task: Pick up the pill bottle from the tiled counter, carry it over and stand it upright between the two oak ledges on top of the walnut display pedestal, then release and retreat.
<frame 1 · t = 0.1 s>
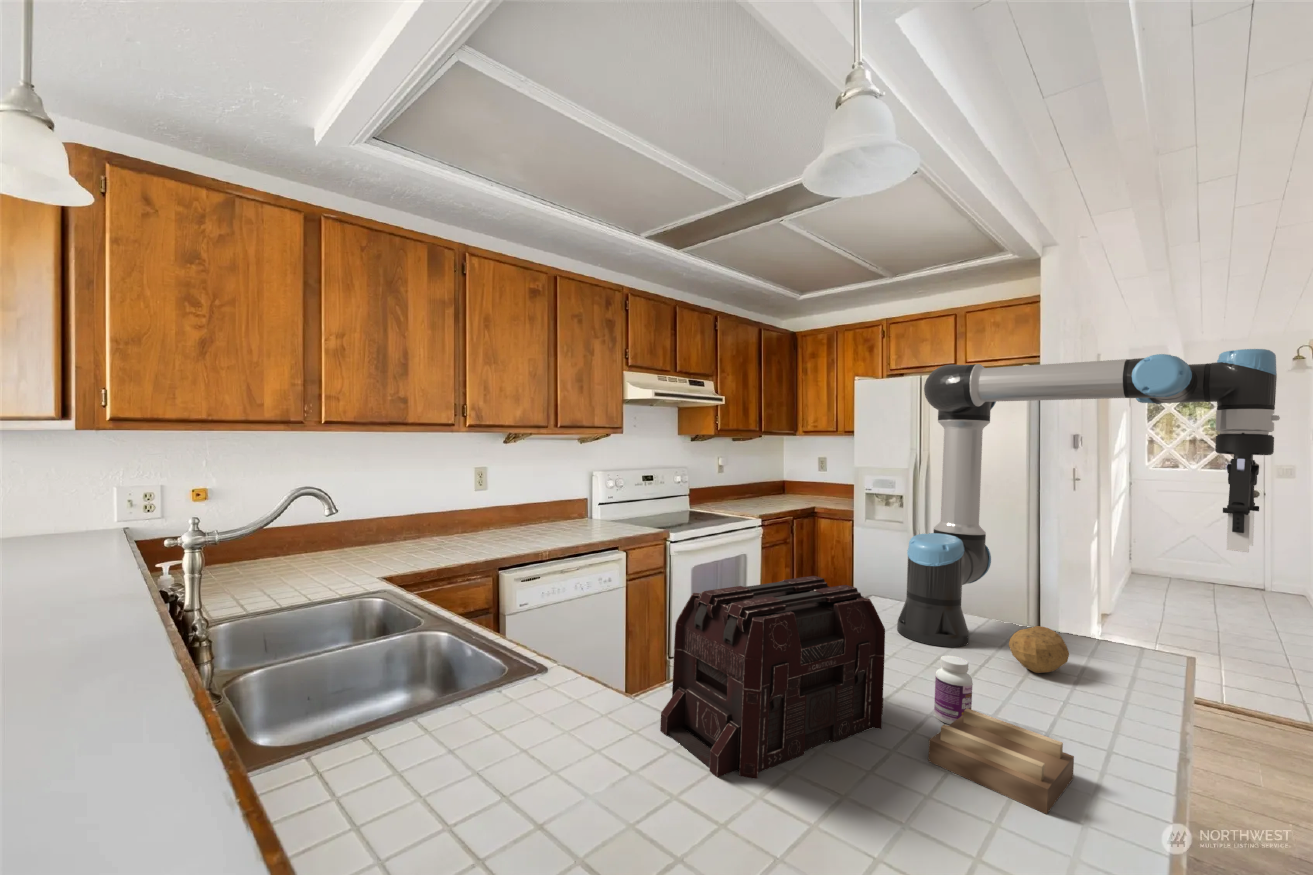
hand: (1240, 547, 104), 28 cm above the counter, fingers open, 13 cm apart
potato: (1036, 671, 114), on the counter
display pedestal: (999, 769, 77), on the counter
crate: (776, 724, 87), on the counter
pill bottle: (952, 720, 91), on the counter
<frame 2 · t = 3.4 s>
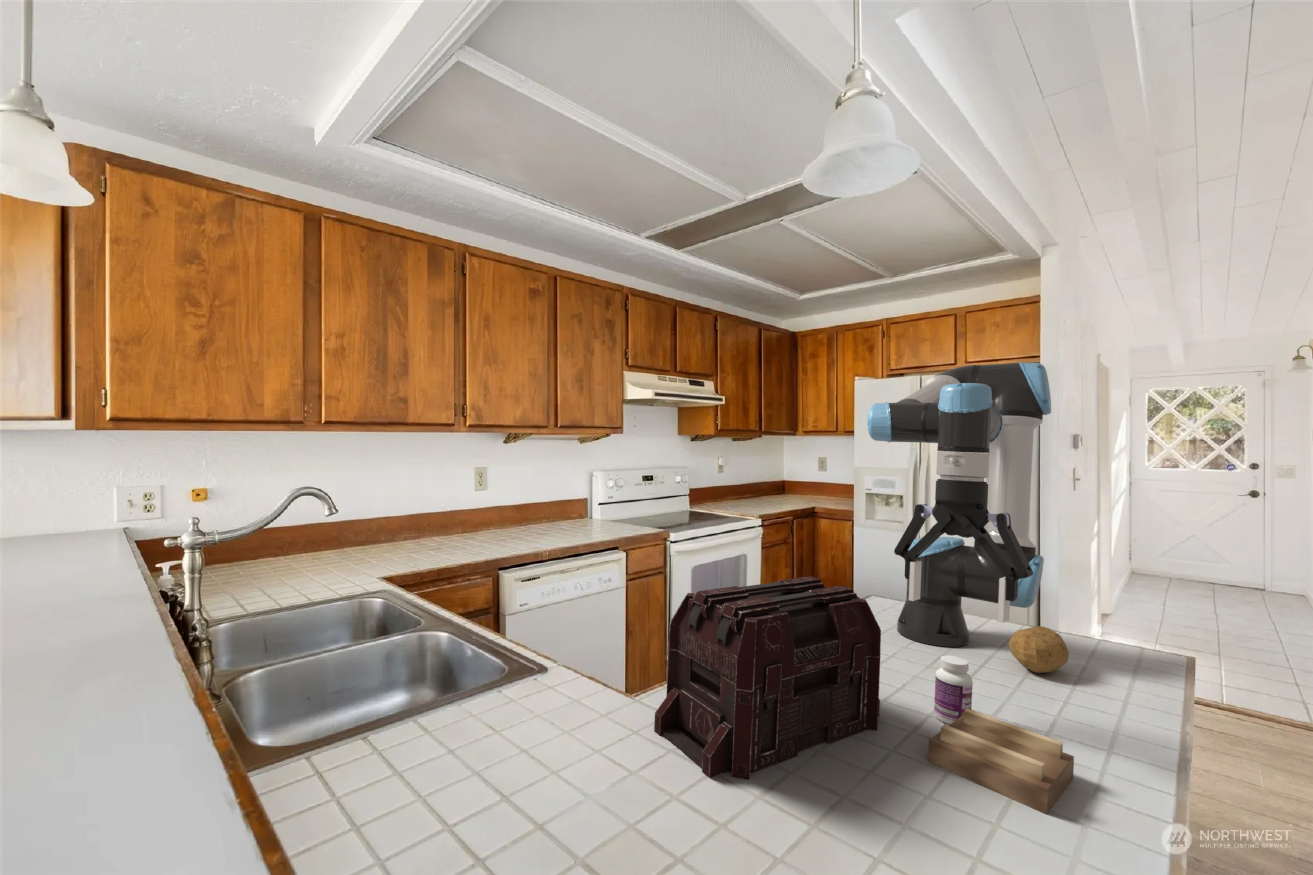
hand: (956, 609, 91), 18 cm above the counter, fingers open, 13 cm apart
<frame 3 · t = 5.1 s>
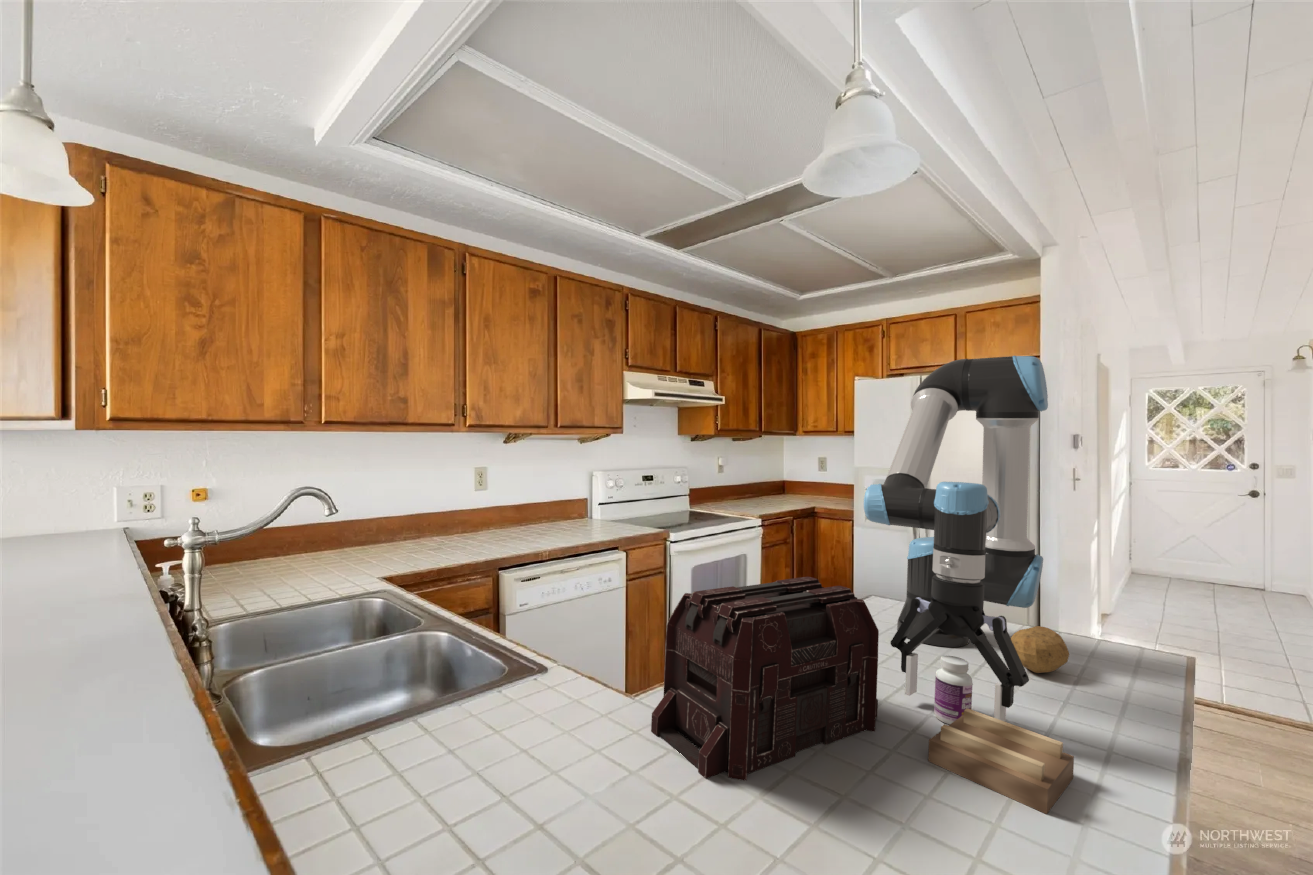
hand: (952, 708, 91), 2 cm above the counter, fingers open, 13 cm apart
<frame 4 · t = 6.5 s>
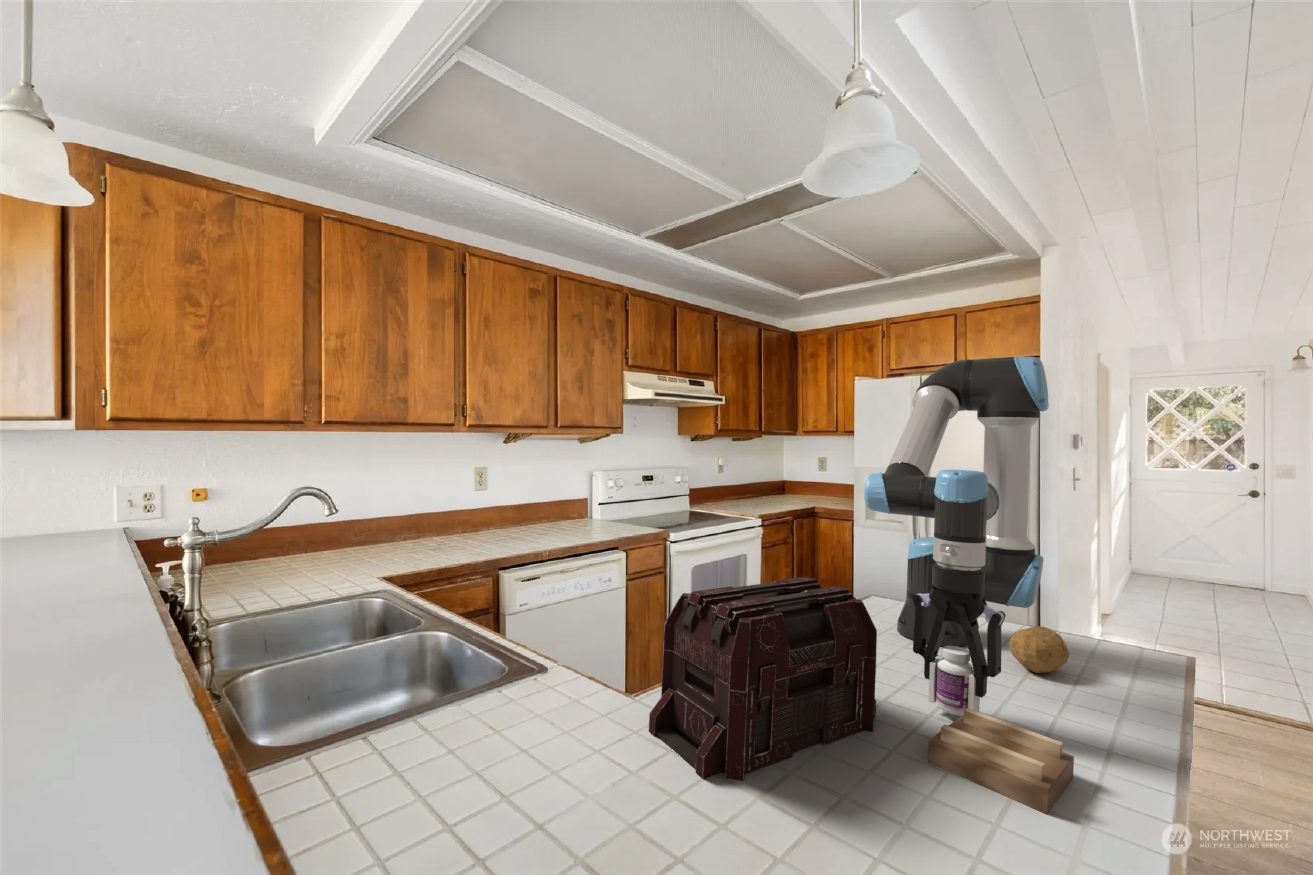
hand: (953, 706, 91), 2 cm above the counter, fingers closed on pill bottle, 5 cm apart
pill bottle: (954, 709, 92), point 1 cm above the counter, touching gripper
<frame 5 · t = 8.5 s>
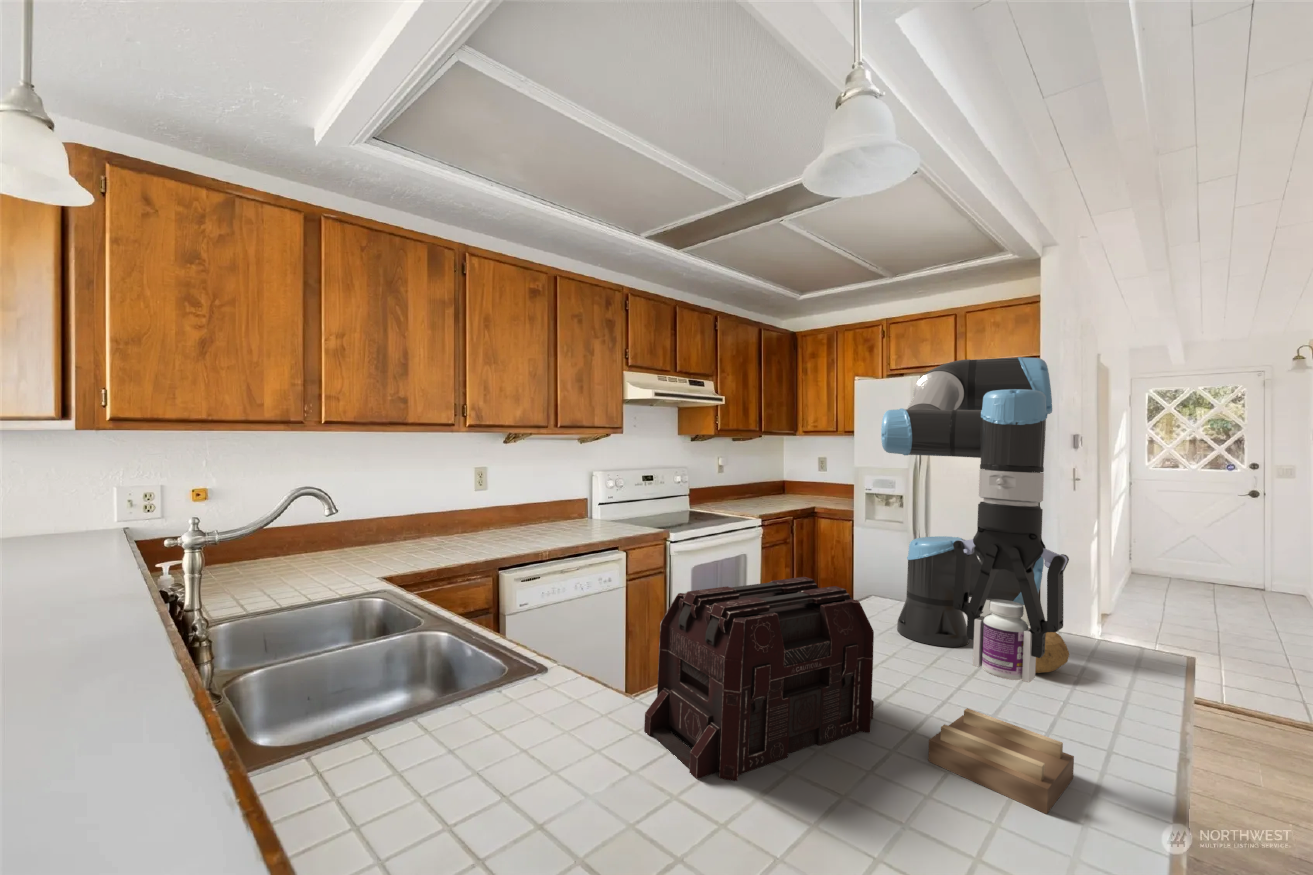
hand: (1003, 671, 77), 13 cm above the counter, fingers closed on pill bottle, 5 cm apart
pill bottle: (1003, 674, 77), point 13 cm above the counter, touching gripper
when the fingers open (4 cm above the counter, at t = 10.8 s): pill bottle stays where it is, resting on display pedestal.
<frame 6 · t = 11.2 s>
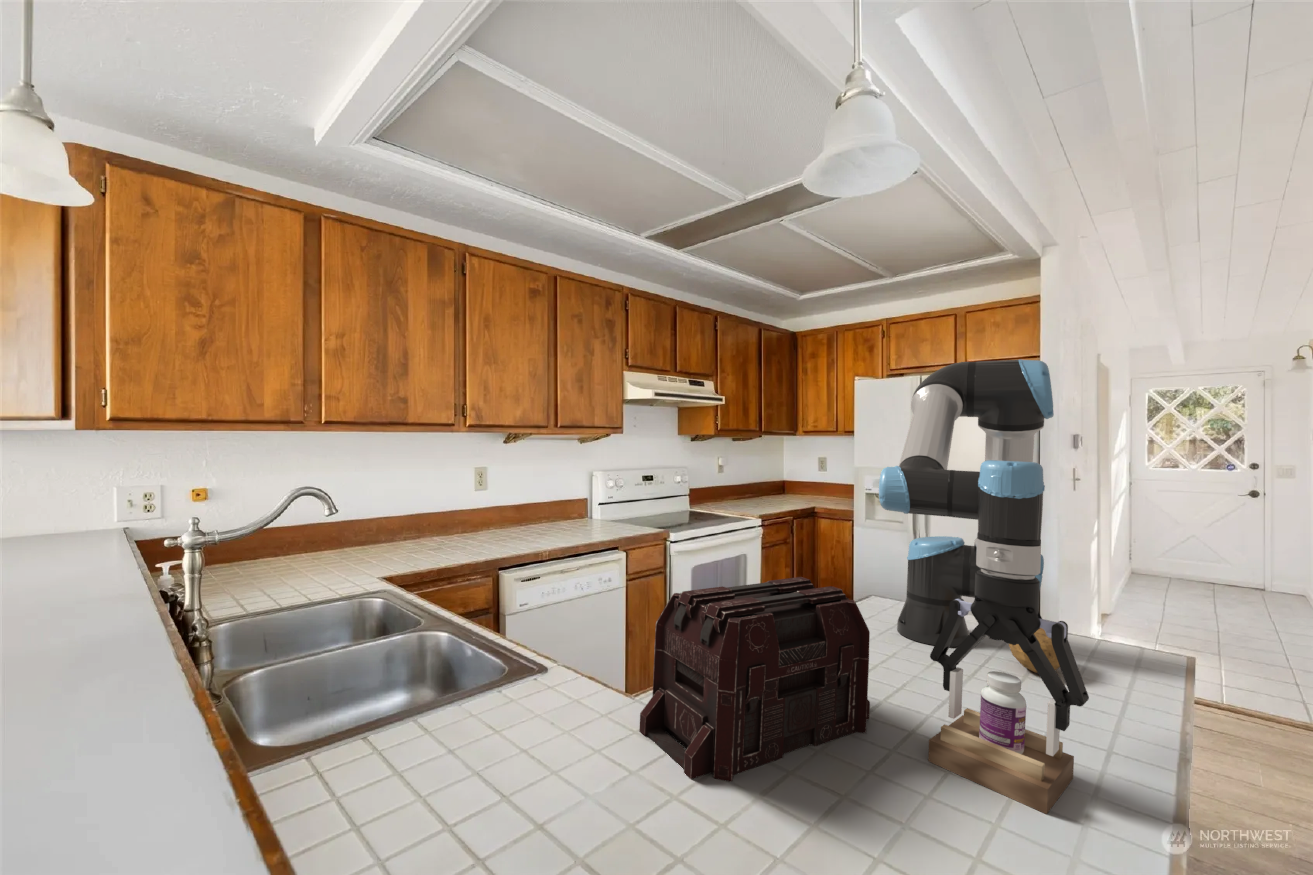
hand: (1000, 732, 77), 5 cm above the counter, fingers open, 11 cm apart
pill bottle: (1001, 748, 77), point 3 cm above the counter, touching display pedestal
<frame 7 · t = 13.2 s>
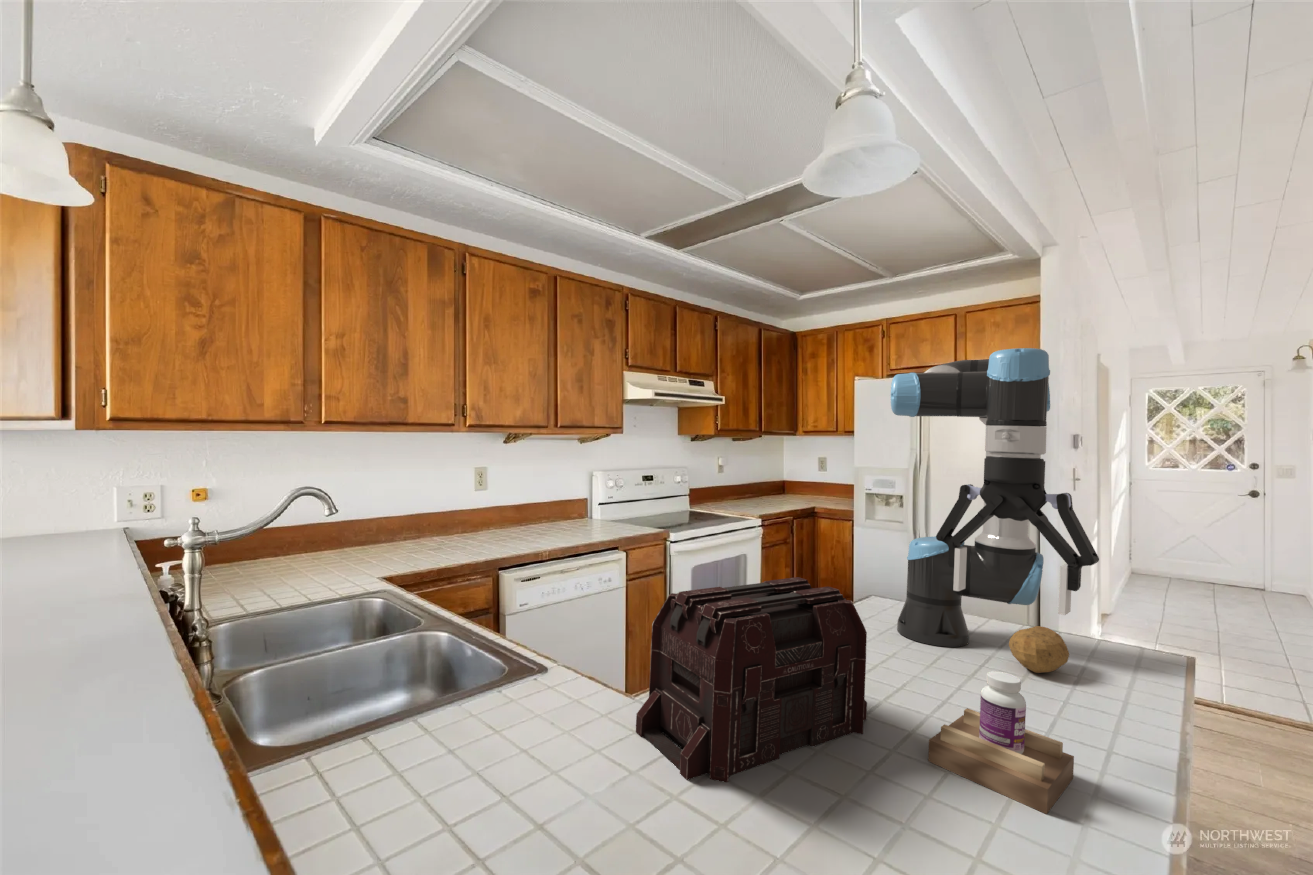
hand: (1008, 600, 82), 22 cm above the counter, fingers open, 13 cm apart
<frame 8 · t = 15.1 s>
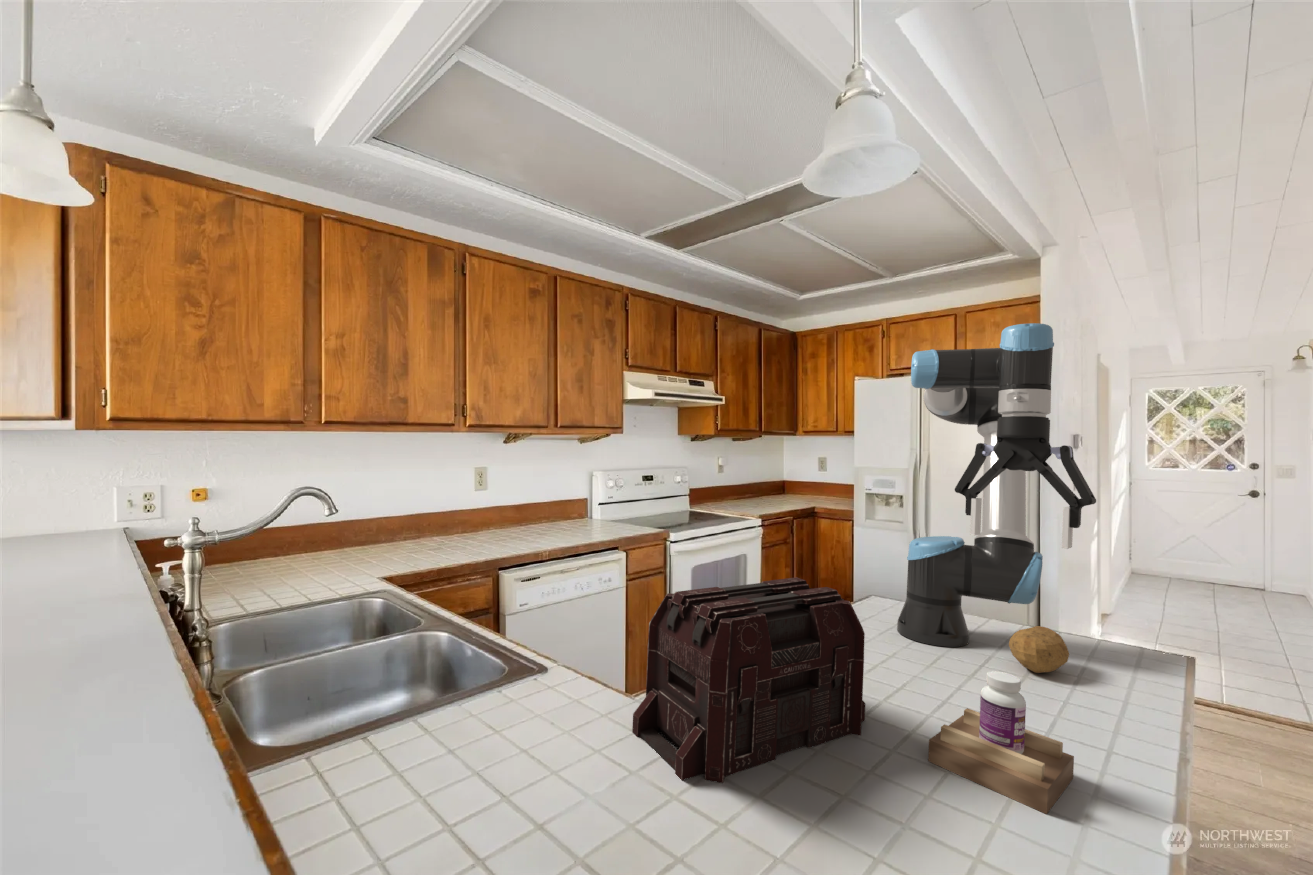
hand: (1018, 541, 95), 29 cm above the counter, fingers open, 13 cm apart
at the end: pill bottle 0.3 cm from the display pedestal (horizontally); pill bottle touching display pedestal; pill bottle tilted 0° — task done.
